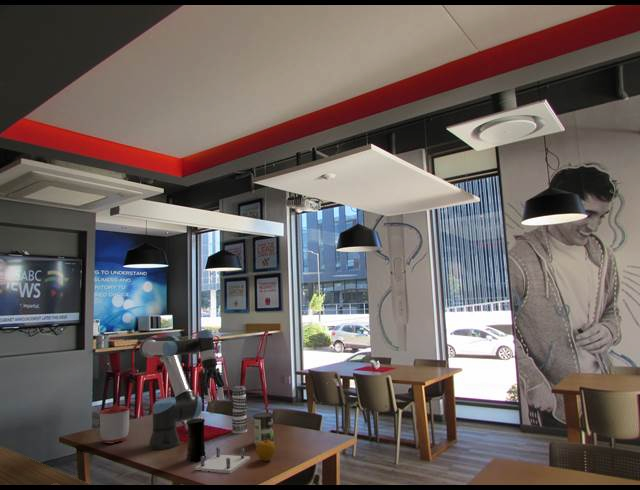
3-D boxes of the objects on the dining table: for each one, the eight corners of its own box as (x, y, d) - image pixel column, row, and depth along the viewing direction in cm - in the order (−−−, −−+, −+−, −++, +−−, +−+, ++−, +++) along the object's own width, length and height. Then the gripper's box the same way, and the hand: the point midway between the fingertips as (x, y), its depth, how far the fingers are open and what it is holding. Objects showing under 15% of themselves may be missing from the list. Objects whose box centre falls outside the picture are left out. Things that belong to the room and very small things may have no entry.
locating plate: (194, 470, 206) (194, 458, 206) (216, 457, 223) (216, 445, 223) (230, 473, 200) (230, 460, 201) (250, 459, 217) (249, 447, 217)
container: (188, 457, 224) (187, 418, 227) (207, 455, 225) (206, 417, 227) (184, 463, 216) (184, 423, 218) (204, 462, 216) (203, 421, 219)
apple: (258, 465, 208) (258, 444, 209) (253, 459, 217) (252, 439, 218) (278, 461, 212) (277, 440, 213) (272, 455, 220) (271, 436, 221)
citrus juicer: (126, 435, 271) (126, 399, 273) (132, 441, 256) (132, 404, 259) (96, 440, 262) (96, 404, 265) (101, 447, 248) (101, 408, 250)
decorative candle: (228, 431, 267) (227, 386, 270) (242, 428, 273) (241, 384, 276) (237, 434, 260) (236, 388, 263) (251, 430, 266) (249, 386, 269)
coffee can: (276, 439, 246) (275, 412, 248) (270, 445, 236) (269, 417, 238) (257, 439, 248) (257, 412, 250) (251, 445, 238) (250, 417, 240)
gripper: (202, 357, 231) (209, 401, 224) (226, 357, 254) (233, 397, 247) (189, 361, 232) (195, 404, 226) (214, 361, 255) (220, 400, 249)
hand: (215, 401), depth 236 cm, fingers open, 13 cm apart
